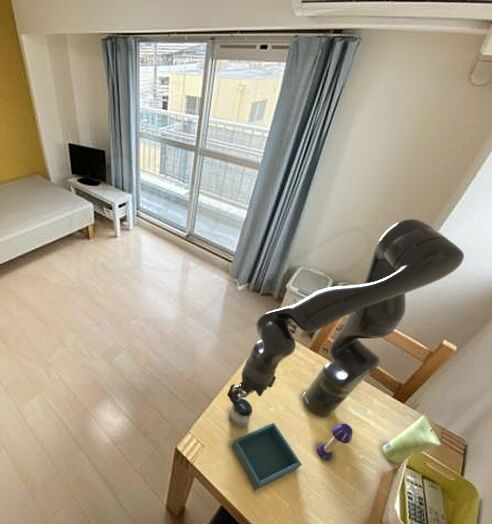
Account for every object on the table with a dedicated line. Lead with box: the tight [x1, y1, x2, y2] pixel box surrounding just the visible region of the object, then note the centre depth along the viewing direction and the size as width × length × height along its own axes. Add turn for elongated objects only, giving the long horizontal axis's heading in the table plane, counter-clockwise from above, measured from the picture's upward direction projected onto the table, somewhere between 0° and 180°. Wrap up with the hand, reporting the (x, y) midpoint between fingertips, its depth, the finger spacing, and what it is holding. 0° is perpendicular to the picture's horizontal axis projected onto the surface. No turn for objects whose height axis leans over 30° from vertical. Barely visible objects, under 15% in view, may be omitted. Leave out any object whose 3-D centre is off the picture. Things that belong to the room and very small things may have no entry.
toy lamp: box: [316, 422, 354, 461], centre depth 86 cm, size 5×5×17 cm
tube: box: [382, 414, 442, 464], centre depth 85 cm, size 6×5×20 cm
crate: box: [230, 422, 303, 492], centre depth 88 cm, size 15×12×5 cm
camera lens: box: [228, 398, 253, 426], centre depth 97 cm, size 6×6×8 cm
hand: (246, 397), depth 92 cm, fingers open, 8 cm apart
